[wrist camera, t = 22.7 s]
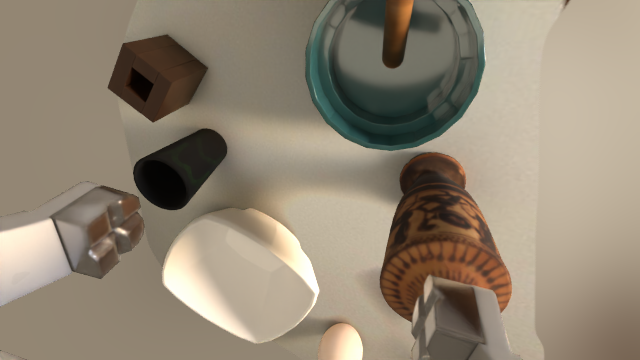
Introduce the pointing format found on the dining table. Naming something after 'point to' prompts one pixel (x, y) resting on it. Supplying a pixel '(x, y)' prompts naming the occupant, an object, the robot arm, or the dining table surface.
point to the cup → (179, 169)
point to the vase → (438, 237)
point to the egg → (340, 344)
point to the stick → (396, 31)
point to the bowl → (241, 273)
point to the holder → (156, 76)
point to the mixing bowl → (394, 71)
